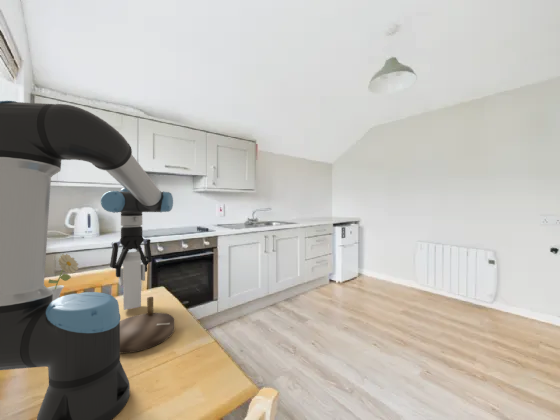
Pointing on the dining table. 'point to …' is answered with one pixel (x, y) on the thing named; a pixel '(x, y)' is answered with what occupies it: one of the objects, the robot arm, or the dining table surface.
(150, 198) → the robot arm
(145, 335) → the turntable
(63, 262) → the flower in vase
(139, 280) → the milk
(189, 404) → the dining table surface
